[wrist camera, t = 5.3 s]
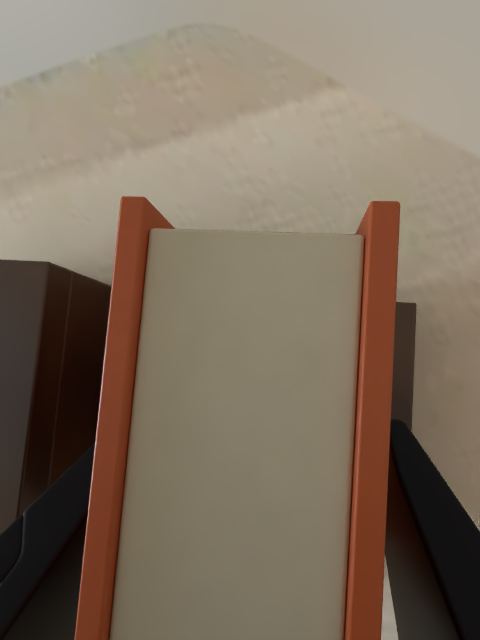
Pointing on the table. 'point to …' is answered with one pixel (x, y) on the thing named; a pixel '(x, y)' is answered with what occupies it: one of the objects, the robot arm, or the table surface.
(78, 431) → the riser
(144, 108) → the table surface
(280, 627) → the book
